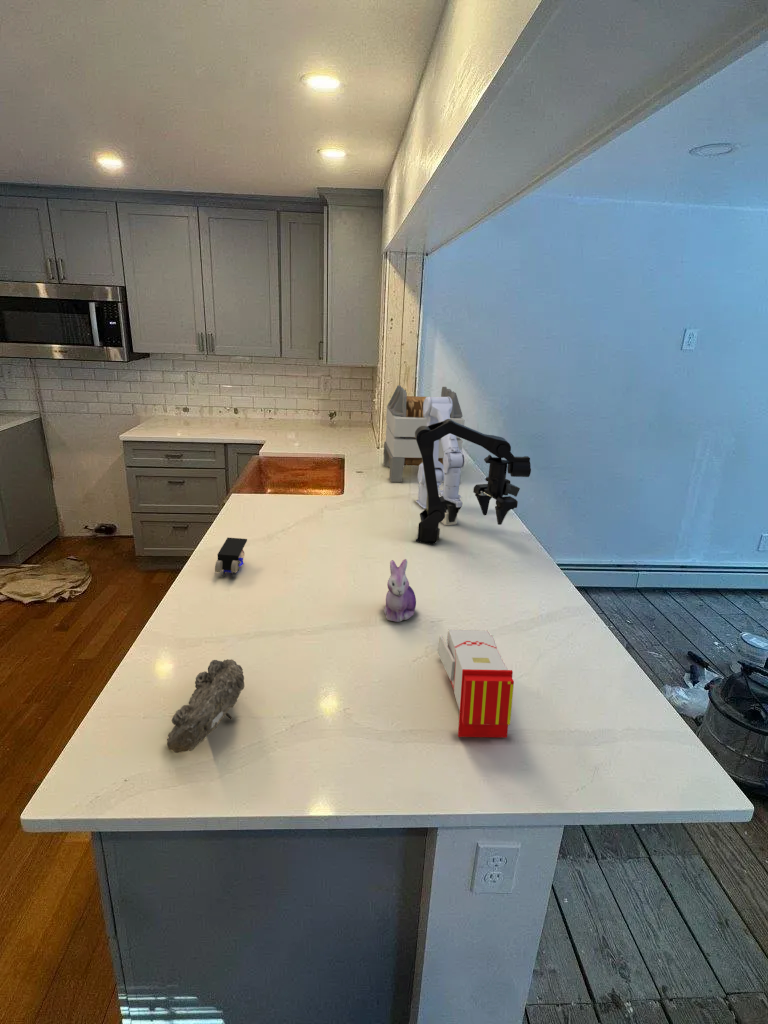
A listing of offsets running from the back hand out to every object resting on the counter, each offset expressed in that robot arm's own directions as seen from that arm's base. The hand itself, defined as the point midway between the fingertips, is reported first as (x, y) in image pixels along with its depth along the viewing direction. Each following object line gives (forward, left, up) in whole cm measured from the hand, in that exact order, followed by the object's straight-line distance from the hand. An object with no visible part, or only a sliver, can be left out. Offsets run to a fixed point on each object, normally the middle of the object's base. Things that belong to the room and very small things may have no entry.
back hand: (448, 519), depth 212 cm
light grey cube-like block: (0, 0, -1) cm, 1 cm away
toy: (+94, -34, -1) cm, 100 cm away
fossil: (+90, -85, -1) cm, 124 cm away
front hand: (+20, +7, +7) cm, 23 cm away
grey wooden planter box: (-66, +12, -1) cm, 67 cm away
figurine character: (+25, -79, -1) cm, 83 cm away
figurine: (+60, -39, -1) cm, 72 cm away
